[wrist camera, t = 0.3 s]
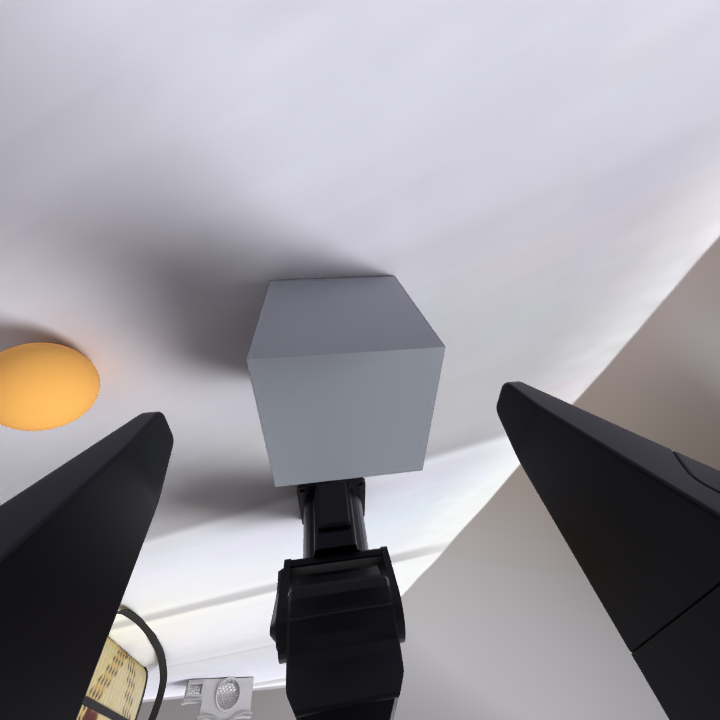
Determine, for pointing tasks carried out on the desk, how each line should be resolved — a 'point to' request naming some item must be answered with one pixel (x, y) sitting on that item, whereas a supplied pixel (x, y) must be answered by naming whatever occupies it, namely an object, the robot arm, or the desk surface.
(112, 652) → the clutch purse
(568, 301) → the desk surface
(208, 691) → the garden wall model
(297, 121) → the desk surface
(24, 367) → the ball
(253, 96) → the desk surface
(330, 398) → the matte grey cube
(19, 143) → the desk surface
